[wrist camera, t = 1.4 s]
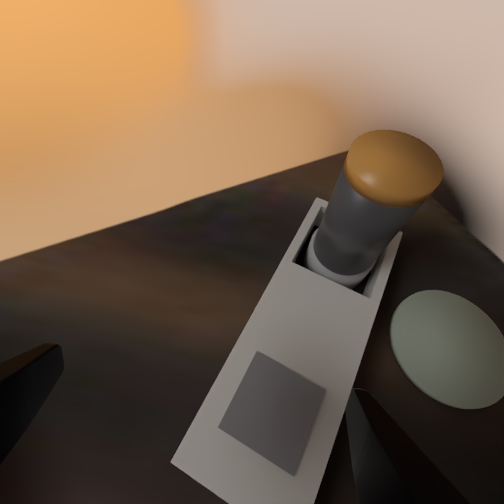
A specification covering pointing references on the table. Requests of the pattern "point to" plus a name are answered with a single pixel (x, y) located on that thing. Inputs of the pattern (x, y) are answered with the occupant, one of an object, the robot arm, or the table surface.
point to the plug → (371, 203)
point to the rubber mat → (449, 349)
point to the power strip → (284, 384)
